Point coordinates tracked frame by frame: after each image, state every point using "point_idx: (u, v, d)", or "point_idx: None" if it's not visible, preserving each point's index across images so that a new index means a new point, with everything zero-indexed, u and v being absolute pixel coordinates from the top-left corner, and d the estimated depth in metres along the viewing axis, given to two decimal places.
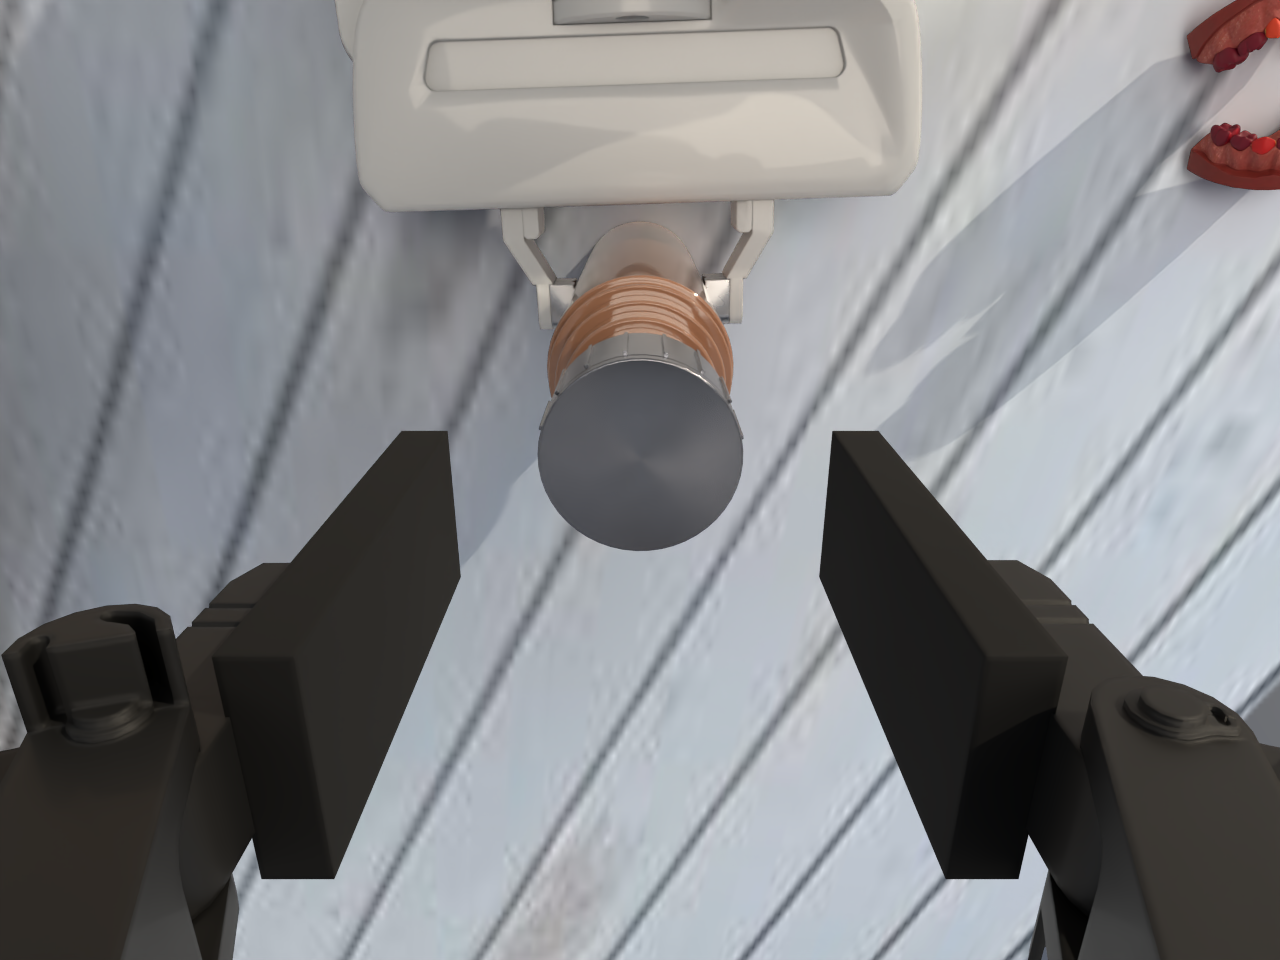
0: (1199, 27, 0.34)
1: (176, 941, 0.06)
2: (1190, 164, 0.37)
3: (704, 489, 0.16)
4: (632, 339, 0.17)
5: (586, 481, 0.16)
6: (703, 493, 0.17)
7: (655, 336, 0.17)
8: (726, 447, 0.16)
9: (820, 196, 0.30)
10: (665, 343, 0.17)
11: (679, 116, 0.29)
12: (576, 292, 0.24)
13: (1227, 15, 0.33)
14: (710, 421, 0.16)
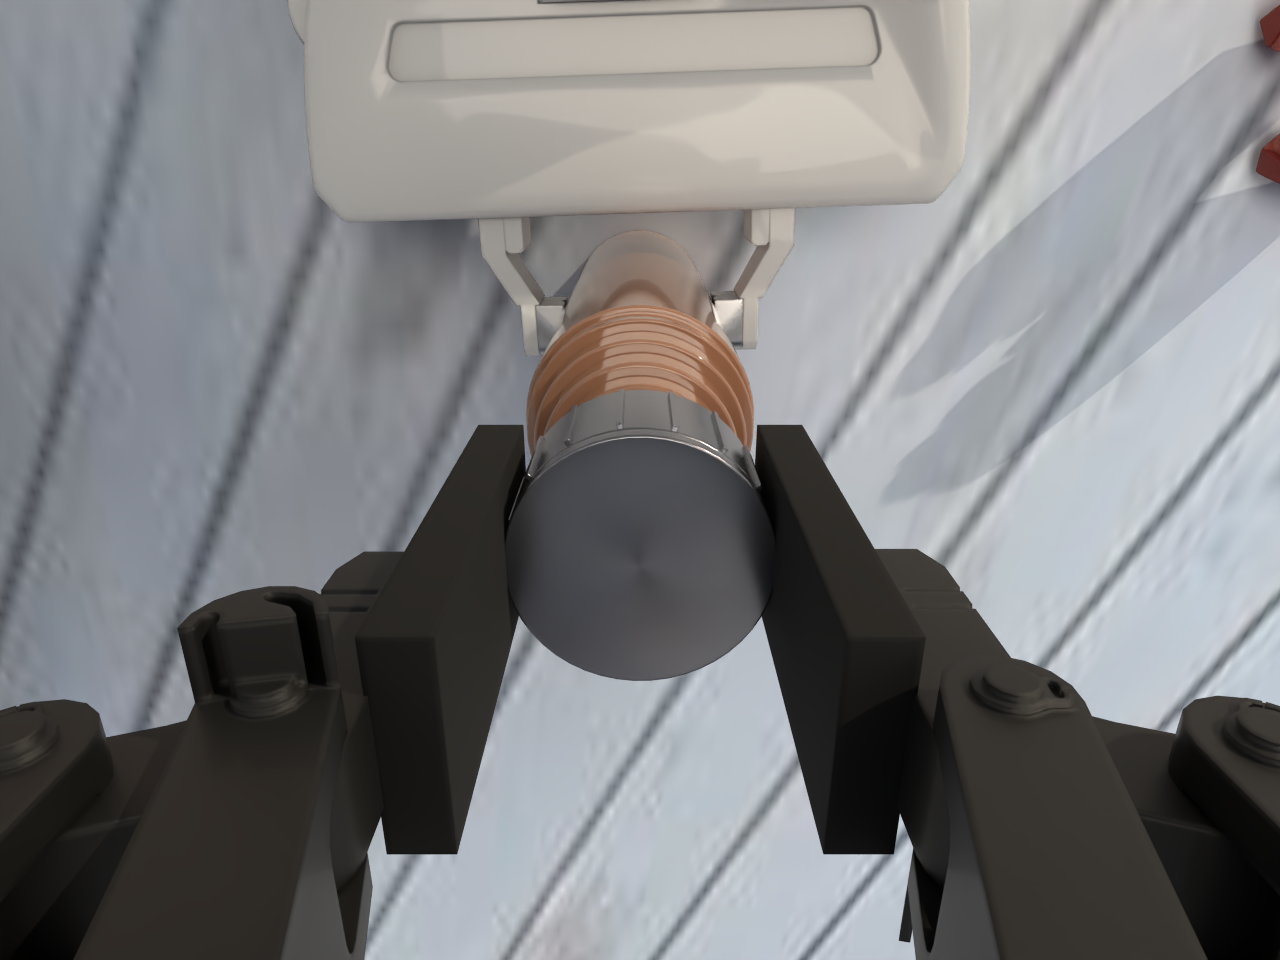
0: (1276, 10, 0.30)
1: (326, 917, 0.06)
2: (1261, 166, 0.32)
3: (726, 604, 0.12)
4: (629, 400, 0.13)
5: (568, 594, 0.12)
6: (724, 609, 0.12)
7: (660, 395, 0.13)
8: (756, 550, 0.12)
9: (849, 204, 0.26)
10: (673, 408, 0.13)
11: (686, 111, 0.25)
12: (563, 322, 0.20)
13: None
14: (735, 517, 0.12)
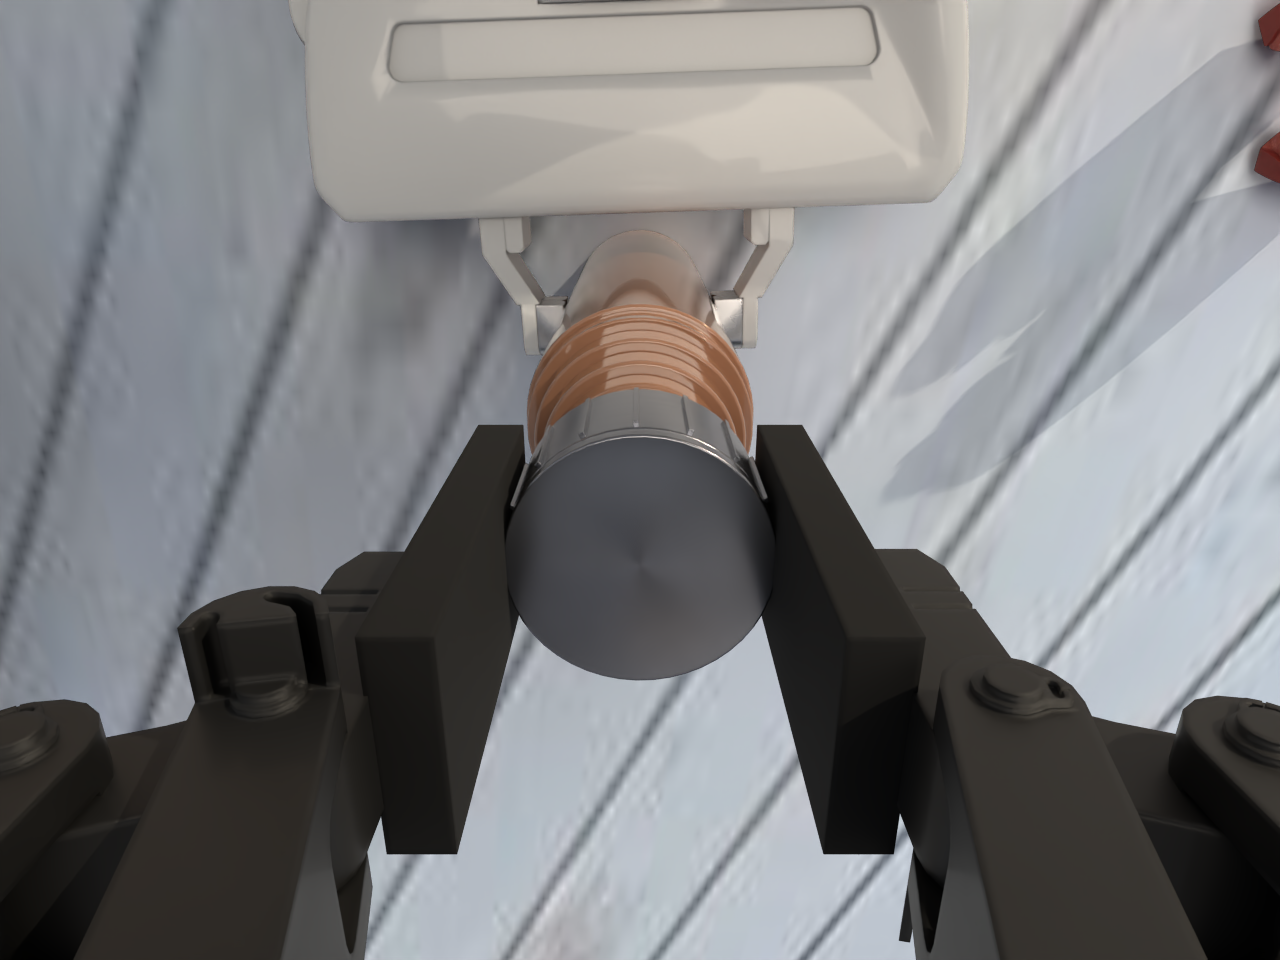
0: (1274, 10, 0.30)
1: (325, 917, 0.06)
2: (1259, 165, 0.33)
3: (695, 490, 0.12)
4: None
5: (662, 631, 0.13)
6: (701, 492, 0.12)
7: None
8: (636, 456, 0.11)
9: (848, 203, 0.26)
10: None
11: (685, 110, 0.25)
12: (563, 321, 0.20)
13: None
14: (596, 474, 0.12)
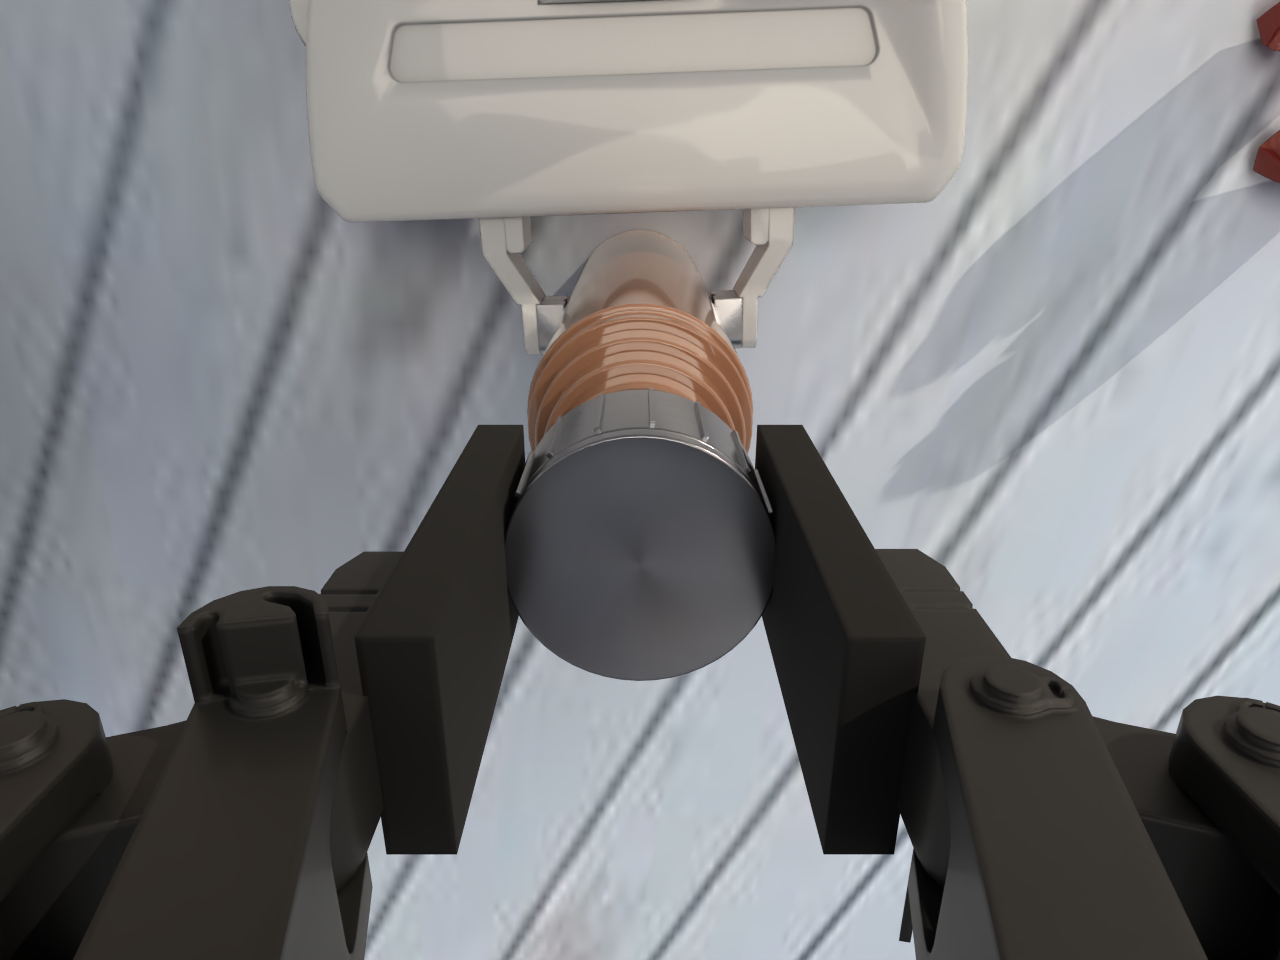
0: (1272, 9, 0.30)
1: (326, 917, 0.06)
2: (1258, 164, 0.33)
3: (563, 508, 0.12)
4: None
5: (719, 553, 0.12)
6: (565, 503, 0.12)
7: None
8: (524, 556, 0.12)
9: (847, 203, 0.26)
10: None
11: (685, 111, 0.25)
12: (563, 321, 0.20)
13: None
14: (539, 593, 0.12)
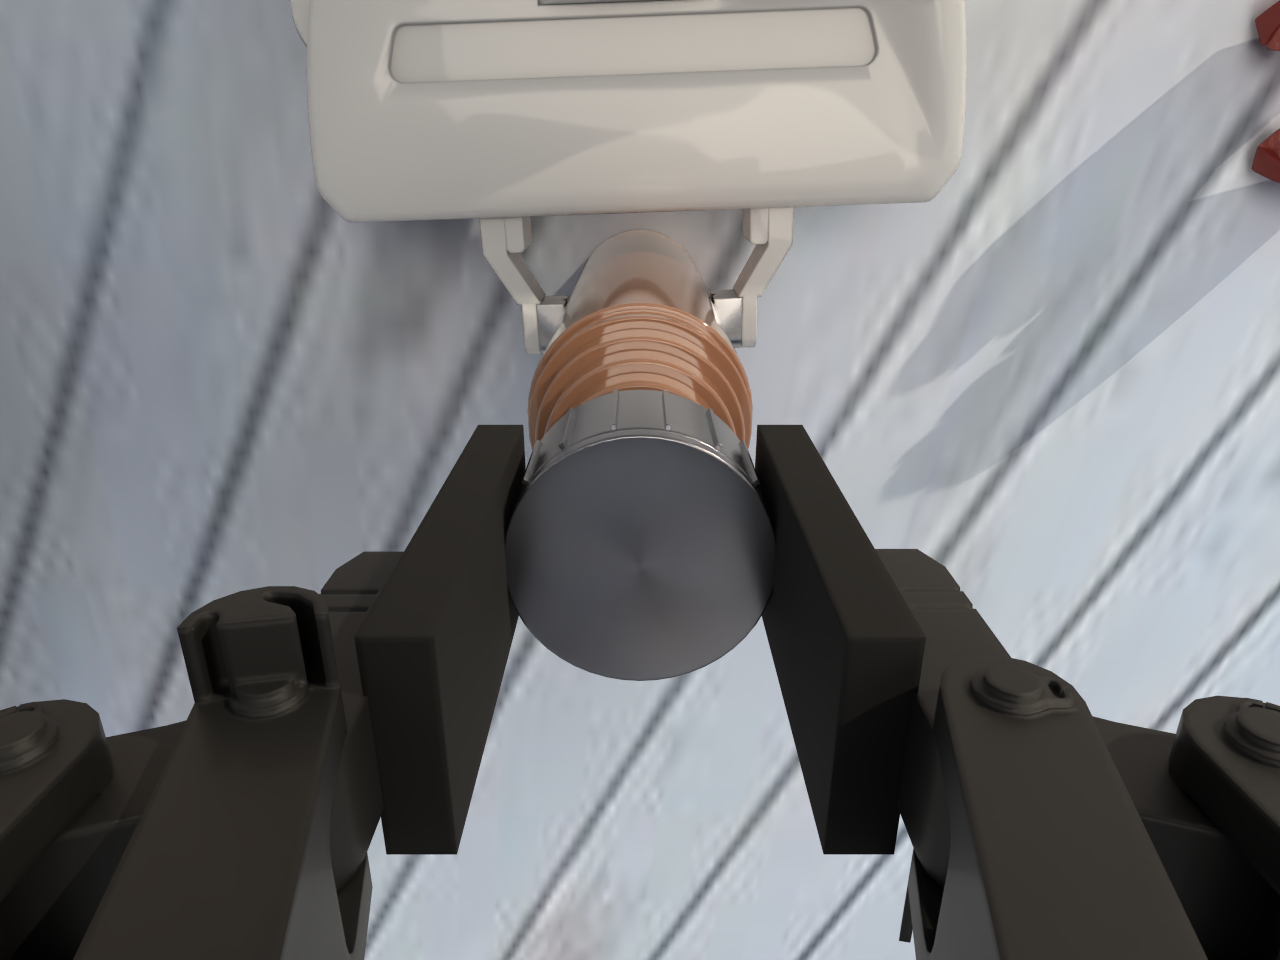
0: (1271, 9, 0.30)
1: (326, 918, 0.06)
2: (1256, 163, 0.33)
3: (571, 624, 0.12)
4: None
5: (635, 492, 0.12)
6: (566, 621, 0.12)
7: None
8: (618, 661, 0.13)
9: (847, 203, 0.26)
10: None
11: (685, 111, 0.25)
12: (564, 320, 0.20)
13: None
14: (658, 655, 0.13)
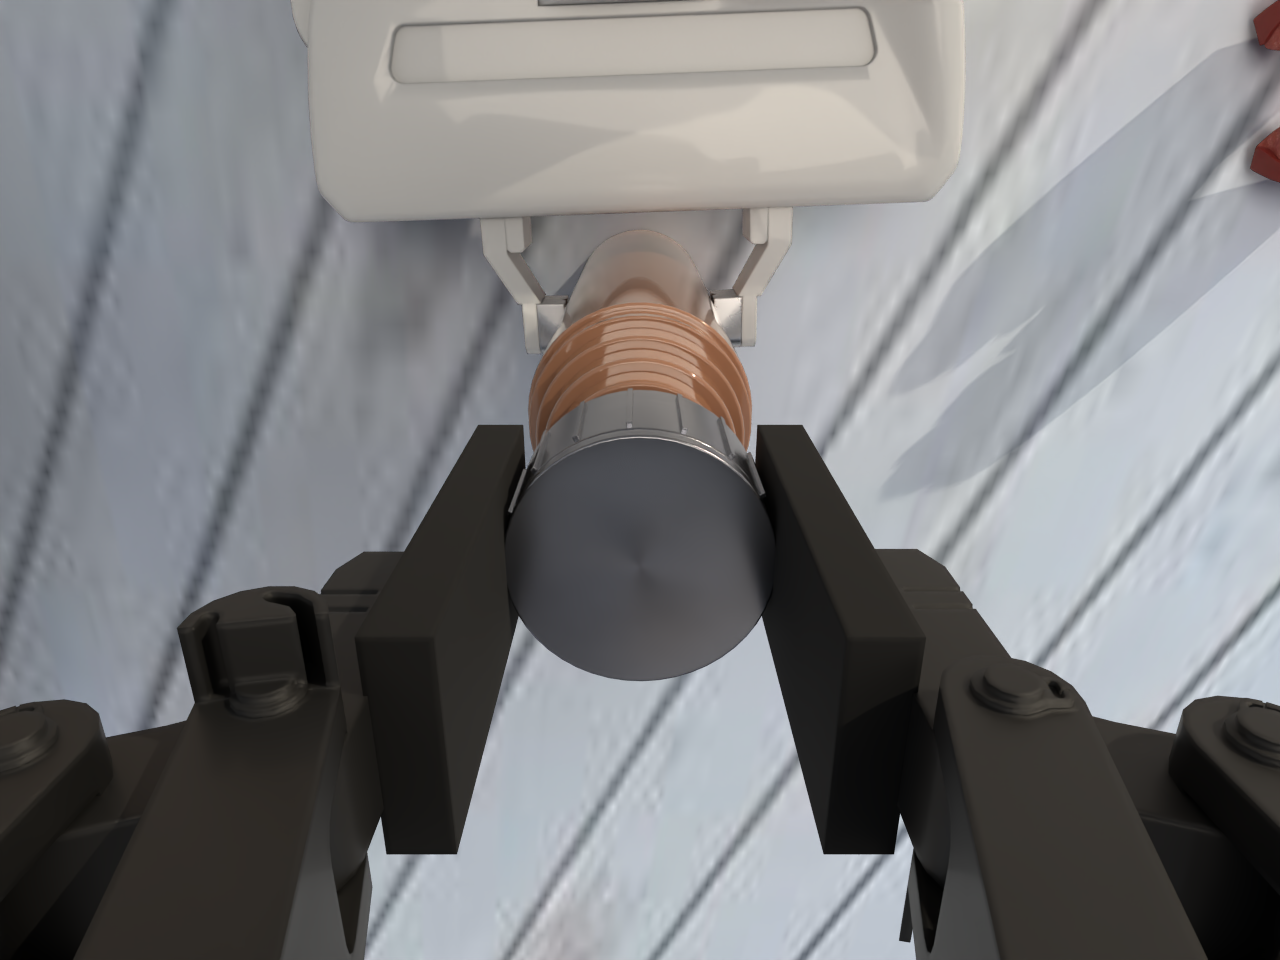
0: (1269, 9, 0.30)
1: (325, 917, 0.06)
2: (1255, 163, 0.33)
3: (697, 633, 0.13)
4: (688, 409, 0.13)
5: (560, 562, 0.12)
6: (693, 637, 0.13)
7: (713, 416, 0.13)
8: (749, 597, 0.12)
9: (846, 203, 0.26)
10: (728, 435, 0.13)
11: (685, 111, 0.25)
12: (564, 320, 0.20)
13: None
14: (747, 560, 0.12)
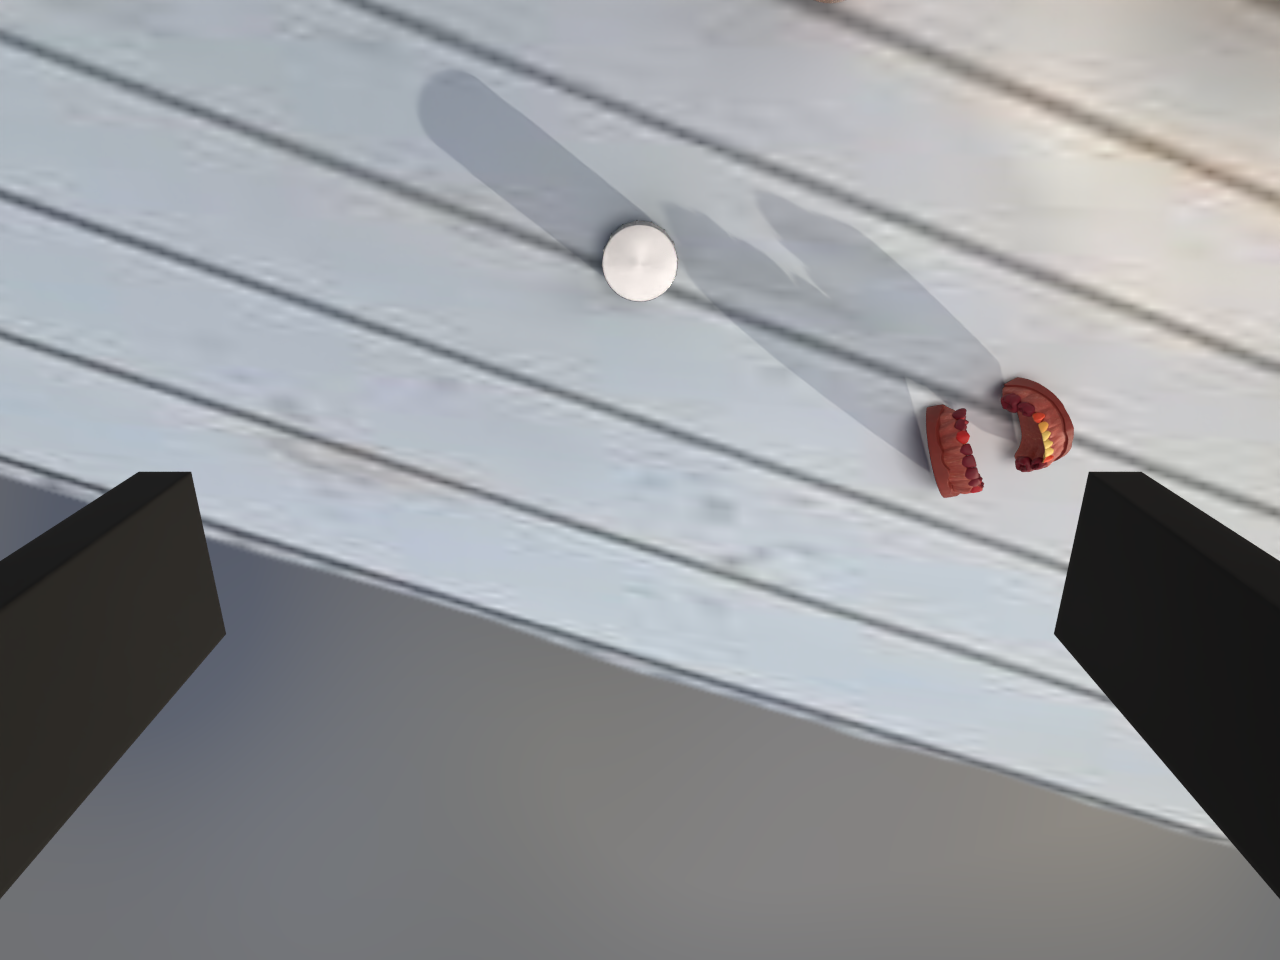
0: (1026, 380, 0.48)
1: None
2: (932, 407, 0.49)
3: (655, 285, 0.45)
4: (653, 224, 0.45)
5: (618, 262, 0.44)
6: (654, 286, 0.45)
7: (661, 228, 0.46)
8: (669, 273, 0.44)
9: None
10: (664, 230, 0.45)
11: None
12: None
13: (1040, 390, 0.47)
14: (669, 261, 0.44)
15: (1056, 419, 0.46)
